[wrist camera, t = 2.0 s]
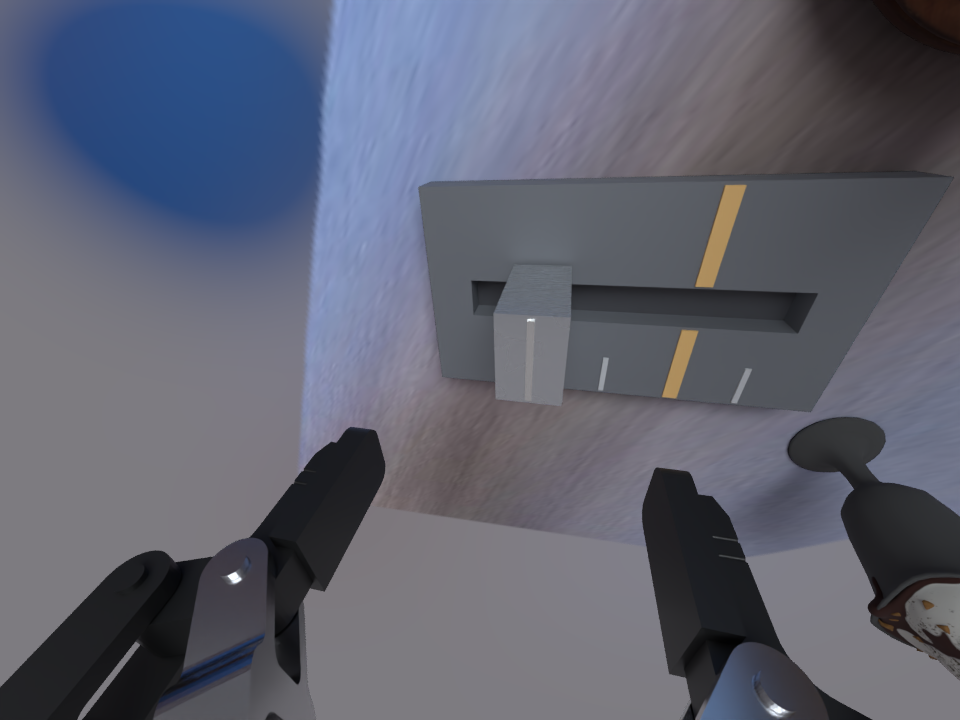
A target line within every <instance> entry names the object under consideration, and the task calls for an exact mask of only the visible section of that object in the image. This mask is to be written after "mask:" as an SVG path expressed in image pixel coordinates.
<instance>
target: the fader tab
mask: <svg viewBox="0 0 960 720" xmlns="http://www.w3.org/2000/svg"><path fill="white" fill-rule="evenodd" d="M571 285H572V266H553V265H516V264H514V266H513V268H512V271H511V273H510V275H509V278H508V280H507V283H506V285H505V287H504V290H503V292H502V294H501V297H500V299H499V301H498V304H497V306H496V309H495V311H494V313H493V316H494V354H495V391H496V399H499V400H508V401H517V402H527V403H536V404H546V405H555V406H562V398H563V388H564V378H565V369H566V359H567V350H568V340H569V331H570V321H571Z"/></svg>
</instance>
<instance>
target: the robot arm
mask: <svg viewBox="0 0 960 720" xmlns="http://www.w3.org/2000/svg"><path fill="white" fill-rule="evenodd" d="M384 474H385V461H384V457H383V454H382V450H381V446H380V443H379V439H378V435H377V433H376V431H375V430H371V429H363V428H355V427H350V428H348V429H347V430H346V431H345V432H344V433H343V435H342V436H341V438H340V439H339V440H338V442H337V443H335V442H330V443H329V444H328V445H326V446H325V447H324V448H322V449H321V450H320V451H318V452H317V453H316V454H315V455H314V456H313V457H312V459H311V460H310V461H309V463H308V464H307V465H306V466H305V468H304V471H303V472H301V473H300V474H299V475H298V477H297V478H296V479H295V482H294V484H292V485H291V486H290V487H289V488H288V490H287V491H286V492H285V494H284V495H283V496H282V498H281V499H280V500H279V501H278V503H277V504H276V505H275V507H274V508H273V509H272V510H271V512H270V513H269V514H268V516H267V517H266V518H265V520H264V521H263V522H262V523H261V525H260V526H259V527H258V529H257V530H256V531H255V532H254V533H253V534H252V536H251V537H249V538H245V539H241V540H238V541H235V542H233V543H231V544H229V545H228V546H226V547H225V548H223V549H222V550H220V551H219V552H218V553H217V554H216V555H215V556H213V557H208V558H201V559H194V560H188V561H181V562H174V561H173V559H172V558H171V557H170V556H169V555H168V554H166V553H165V552H163V551H149V552H145V553H142V554H140V555H137V556H135V557H133V558H131V559H129V560H128V561H126V562H124V563H123V564H122V565H120V566H119V567H118V568H116V569H115V570H114V571H113V572H112V573H111V574H109V575H108V576H107V577H106V578H105V580H103V582H102V583H101V584H100V585H99V586H98V587H97V588H96V589H95V590H94V591H93V592H92V593H91V594H90V595H89V596H88V597H87V598H86V599H85V600H84V601H83V602H82V603H81V604H80V605H79V607H77V609H76V610H75V611H74V612H73V613H72V614H71V615H70V616H69V617H68V618H67V619H66V620H65V621H64V622H63V623H62V624H61V625H60V626H59V627H58V628H57V629H56V630H55V631H54V632H53V633H52V634H51V635H50V636H49V637H48V639H47V640H46V641H45V642H44V643H43V644H42V645H41V646H40V647H39V648H38V649H37V650H36V651H35V652H34V653H33V654H32V655H31V656H30V657H29V658H28V659H27V661H25V662H24V663H23V664H22V666H20V668H19V669H18V670H17V671H16V672H15V673H14V674H13V675H12V676H11V677H10V678H9V679H8V680H7V681H6V682H5V683H4V684H3V685H2V686H1V687H0V720H77V719H78V716H79V715H80V712H81V711H82V709H83V708H84V706H85V705H86V704H87V702H88V701H89V700H90V699H91V697H92V696H93V695H94V693H95V692H96V691H97V690H98V688H99V687H100V686H101V685H102V683H103V682H104V681H105V680H106V678H107V677H108V676H109V674H110V673H111V672H112V671H113V669H114V668H115V667H116V666H117V664H118V663H119V661H121V659H122V658H123V657H124V655H125V654H126V653H127V652H128V650H129V649H130V648H131V646H132V645H133V644H134V643H135V642H137V643H139V644H140V646H139V647H138V649H137V650H136V651H135V652H134V654H133V655H132V656H131V658H130V659H129V660H128V662H127V663H126V664H125V665H124V667H123V668H122V669H121V671H120V672H119V673H118V674H117V676H116V677H115V678H114V680H113V681H112V682H111V684H110V685H109V686H108V687H107V689H106V690H105V691H104V692H103V694H102V695H101V696H100V698H99V699H98V700H97V702H96V703H95V704H94V705H93V707H92V708H91V709H90V711H89V712H88V713H87V714H86V716H85V717H84V718H83V719H82V720H316V716H315V711H314V706H313V702H312V699H311V696H310V693H309V688H308V680H307V679H308V678H307V658H306V639H305V638H306V636H305V615H304V603H303V600H304V598H305V596H306V594H307V592H308V591H309V589H310V588H311V589H316V590H320V591H325V590H326V588H327V586H328V584H329V582H330V580H331V579H332V577H333V575H334V572H335V571H336V569H337V567H338V565H339V563H340V561H341V559H342V557H343V556H344V554H345V552H346V550H347V548H348V546H349V544H350V542H351V540H352V539H353V536H354V535H355V533H356V531H357V529H358V527H359V525H360V523H361V521H362V520H363V518H364V516H365V514H366V512H367V510H368V508H369V506H370V504H371V502H372V501H373V499H374V497H375V495H376V493H377V491H378V489H379V487H380V485H381V483H382V481H383V478H384ZM642 522H643V529H644V535H645V541H646V546H647V552H648V558H649V562H650V569H651V574H652V580H653V586H654V591H655V597H656V602H657V608H658V614H659V619H660V624H661V630H662V636H663V641H664V647H665V652H666V658H667V664H668V669H669V674H672V675H677V676H681V677H685V678H686V679H687V684H688V689H689V694H690V700H689V702H688V704H687V706H686V708H685V710H684V712H683V714H682V716H681V718H680V720H872V719H870V718H868V717H866V716H864V715H863V714H861V713H859V712H857V711H855V710H853V709H851V708H850V707H847V706H846V705H844V704H842V703H840V702H838V701H837V700H835V699H833V698H832V697H830V696H829V695H827V694H826V693H824V692H823V691H822V690H820V689H819V688H818V687H816V686H815V685H814V684H813V683H812V681H811V680H810V679H809V678H808V677H807V675H806V674H805V673H804V672H803V671H802V670H801V669H800V668H799V667H798V666H797V665H796V664H795V663H794V662H793V661H792V660H790V658H789V657H788V656H787V654H786V652H785V651H784V649H783V647H782V646H781V644H780V642H779V639H778V637H777V635H776V633H775V630H774V627H773V625H772V622H771V620H770V617H769V615H768V613H767V610H766V608H765V605H764V602H763V600H762V597H761V595H760V593H759V590H758V588H757V585H756V583H755V580H754V578H753V575H752V573H751V570H750V568H749V565H748V563H746V562H745V555H744V553H743V550H742V548H741V545H740V543H738V538H737V535H736V533H735V530H734V528H733V525H732V523H731V520H730V518H729V516H728V515H727V514H726V512H725V511H724V510H723V509H722V508H721V506H720V505H719V504H718V503H717V502H716V500H715V499H714V498H713V497H712V496H705V495H698V492H697V490H696V487H695V484H694V481H693V478H692V476H691V474H690V473H689V472H687V471H680V470H673V469H665V468H656V469H655V470H654V473H653V476H652V479H651V482H650V485H649V487H648V490H647V493H646V496H645V499H644V503H643V509H642Z"/></svg>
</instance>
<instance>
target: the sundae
mask: <svg viewBox="0 0 960 720" xmlns="http://www.w3.org/2000/svg"><path fill="white" fill-rule="evenodd" d="M885 442H886V439H885V434H884V431H883V430H882V429H881V428H880V427H879V426H878V425H876V424H875V423H874V422H871V421H868V420H864V419H860V418H848V417H844V418H833V419H828V420H824V421H820V422H817V423H815V424H812V425H810V426H808V427H806V428H805V429H803V430H801V431H800V432H799V433H798V434H797V435H796V436H795V437H794V438H793V439H792V441H791V443H790V445H789V449H788V451H789V455H790V458H791V460H792V461H794V462H795V463H796V464H797V465H799V466H800V467H802V468H805V469H808V470H812V471H816V472H841V473H842V474H843V475H844V476H845V477H846V479H847V480H848V481H849V483H850V484H851V485H852V487H853V488H854V490H853V491H852V492H851V493H850V494H849V495H848V496H847V498H846V500H845V502H844V504H843V506H842V509H841V518H842V520H843V523H844V526H845V529H846V531H847V534H848V537H849V539H850V541H851V543H852V545H853V547H854V549H855V551H856V554H857V556H858V557H859V560H860V562H861V564H862V566H863V568H864V570H865V572H866V574H867V576H868V578H869V581H870V584H871V586H872V589H873V591H874V594H875V598H874V599H873V600H872V601H871V602H870V603H869V604H868V610H869V612H870V613H871V620H870V621H871V623H872V624H873V625H874V626H875V627H877V628H878V629H879V630H881V631H883V632H884V633H886V634H887V635H889V636H890V637H892V638H894V639H896V640H898V641H900V642H902V643H905V644H907V645H909V646H912V647H914V648H917V651H921V652H925V653H927V654H928V655H929V657H930V658H932V659H935V660H938V661H940V663H941V664H942V665H943V666H944V667H945V668H946V669H947V670H949V671H950V672H951V673H952V674H953V675H954V676H955V677H956V678H957V679H959V680H960V517H959V516H958V515H957V514H956V513H955V512H953V511H952V510H951V509H949V508H948V507H946V506H945V505H944V504H942V503H941V502H940V501H938V500H937V499H935V498H934V497H933V496H931V495H930V494H929V493H927V492H925V491H923V490H920V489H916V488H912V487H908V486H904V485H900V484H895V483H882V482H880V481H878V479H877V478H876V477H875V476H874V475H873V474H872V473H871V471H870V470H869V469H868V468H867V466H866V463H868V462H870V461H871V460H873V459H874V458H875V457H876V456H877V455H878V454H879V453H880V452H881V450H882V448H883V447H884V444H885Z"/></svg>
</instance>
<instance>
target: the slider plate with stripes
mask: <svg viewBox="0 0 960 720" xmlns="http://www.w3.org/2000/svg"><path fill="white" fill-rule="evenodd" d="M953 179H954V177H951V176H945V175H938V174H931V173H924V172H917V171H897V172H851V173H805V174H759V175H713V176H668V177H622V178H576V179H530V180H484V181H439V182H429V183H427V184H424V185H422V186H420V187H418V188H419V196H420V204H421V212H422V220H423V228H424V236H425V243H426V251H427V259H428V267H429V275H430V283H431V291H432V299H433V307H434V315H435V323H436V331H437V338H438V346H439V354H440V362H441V370H442V377H448V378H459V379H469V380H480V381H490V382H495V354H494V316H493V313H494V311H495V309H496V306H497V304H498V301H499V299H500V297H501V294H502V292H503V290H504V287H505V285H506V283H507V280H508V278H509V275H510V273H511V271H512V268H513V266H514V264H516V265H553V266H572V285H571V321H570V331H569V340H568V350H567V359H566V369H565V378H564V388H563V389H574V390H584V391H595V392H605V393H616V394H626V395H636V396H647V397H657V398H668V399H678V400H689V401H699V402H710V403H720V404H731V405H741V406H751V407H762V408H772V409H783V410H793V411H804V412H811V411H812V409H813V408H814V406H815V404H816V403H817V401H818V399H819V398H820V396H821V395H822V393H823V391H824V390H825V388H826V386H827V385H828V383H829V381H830V380H831V378H832V377H833V375H834V373H835V372H836V370H837V368H838V367H839V365H840V363H841V362H842V360H843V359H844V357H845V355H846V354H847V352H848V350H849V349H850V347H851V345H852V344H853V342H854V341H855V339H856V337H857V336H858V334H859V332H860V331H861V329H862V327H863V326H864V324H865V323H866V321H867V319H868V318H869V316H870V314H871V313H872V311H873V309H874V308H875V306H876V305H877V303H878V301H879V300H880V298H881V296H882V295H883V293H884V291H885V290H886V288H887V287H888V285H889V283H890V282H891V280H892V278H893V277H894V275H895V273H896V272H897V270H898V269H899V267H900V265H901V264H902V262H903V260H904V259H905V257H906V255H907V254H908V252H909V251H910V249H911V247H912V246H913V244H914V242H915V241H916V239H917V237H918V236H919V234H920V233H921V231H922V229H923V228H924V226H925V224H926V223H927V221H928V219H929V218H930V216H931V215H932V213H933V211H934V210H935V208H936V206H937V205H938V203H939V201H940V200H941V198H942V197H943V195H944V193H945V192H946V190H947V188H948V187H949V185H950V183H951V182H952V180H953Z"/></svg>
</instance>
